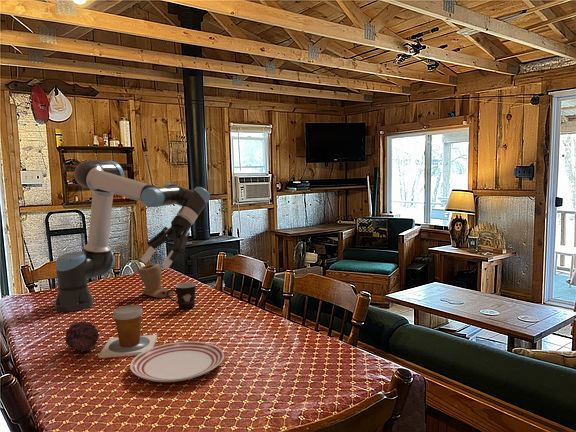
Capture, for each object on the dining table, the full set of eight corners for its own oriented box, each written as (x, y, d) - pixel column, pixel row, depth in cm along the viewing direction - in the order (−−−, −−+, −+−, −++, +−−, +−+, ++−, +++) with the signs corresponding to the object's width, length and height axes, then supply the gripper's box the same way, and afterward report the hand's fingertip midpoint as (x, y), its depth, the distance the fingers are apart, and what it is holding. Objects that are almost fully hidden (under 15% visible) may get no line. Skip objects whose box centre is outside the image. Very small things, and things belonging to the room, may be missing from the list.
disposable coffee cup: (150, 339, 148) (148, 306, 146) (132, 351, 139) (129, 315, 137) (127, 336, 151) (125, 303, 150) (108, 347, 142) (106, 312, 141)
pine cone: (105, 356, 138) (103, 326, 137) (71, 364, 132) (69, 333, 131) (93, 339, 152) (91, 311, 151) (62, 346, 146) (60, 318, 145)
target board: (98, 358, 137) (98, 354, 137) (110, 340, 151) (110, 337, 150) (150, 354, 139) (150, 350, 139) (157, 337, 153) (157, 334, 153)
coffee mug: (199, 304, 189) (198, 282, 188) (193, 311, 180) (192, 288, 179) (173, 304, 190) (172, 282, 189) (166, 310, 182) (165, 287, 180)
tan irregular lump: (135, 295, 205) (134, 264, 203) (158, 289, 213) (157, 260, 212) (151, 301, 194) (149, 269, 193) (174, 296, 203) (173, 264, 201)
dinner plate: (150, 348, 144) (149, 339, 143) (231, 348, 143) (230, 339, 142) (114, 391, 117) (113, 379, 116) (214, 391, 116) (213, 379, 115)
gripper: (210, 229, 167) (180, 274, 157) (170, 223, 182) (140, 264, 172) (199, 217, 162) (167, 263, 152) (159, 212, 177) (128, 254, 167)
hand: (153, 264), depth 162 cm, fingers open, 13 cm apart
